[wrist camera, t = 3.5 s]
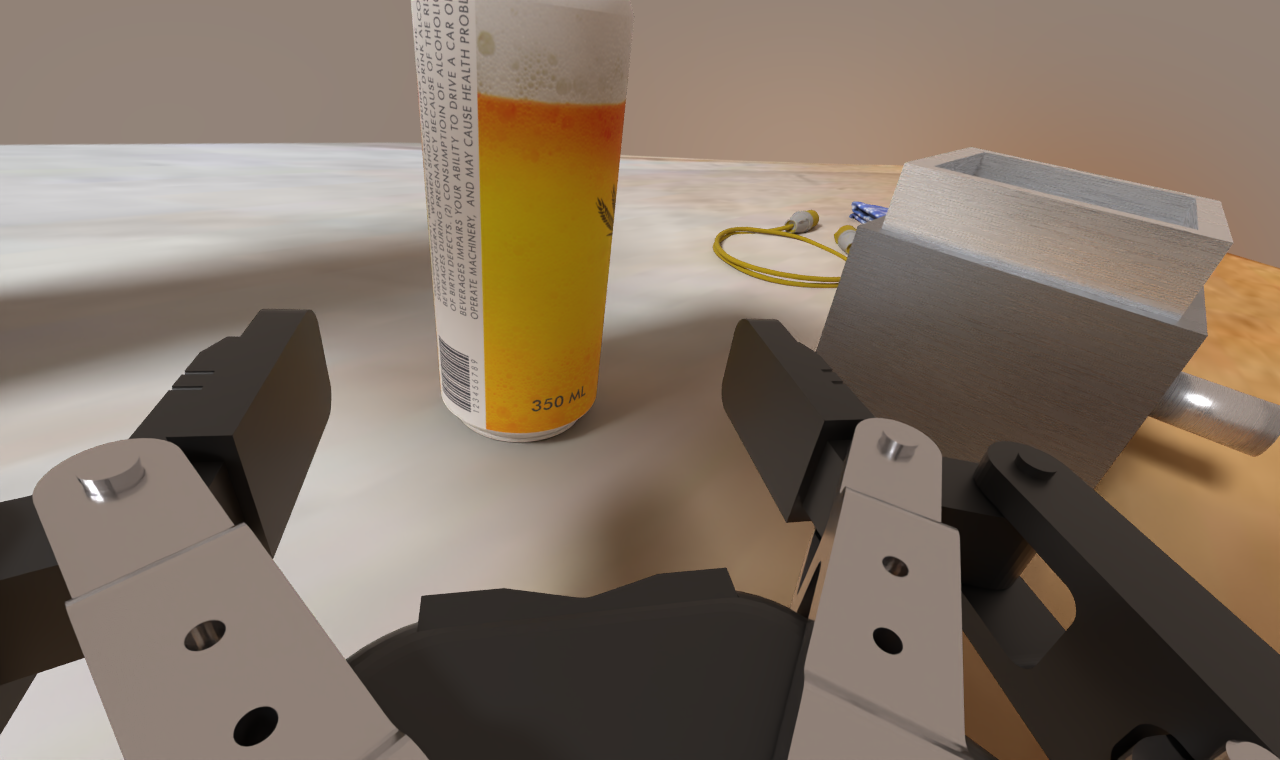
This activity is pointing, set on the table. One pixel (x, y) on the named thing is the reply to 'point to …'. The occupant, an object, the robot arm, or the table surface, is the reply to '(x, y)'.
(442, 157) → the beer can
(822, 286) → the extension cord
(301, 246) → the table surface
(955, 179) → the grey hollow box
